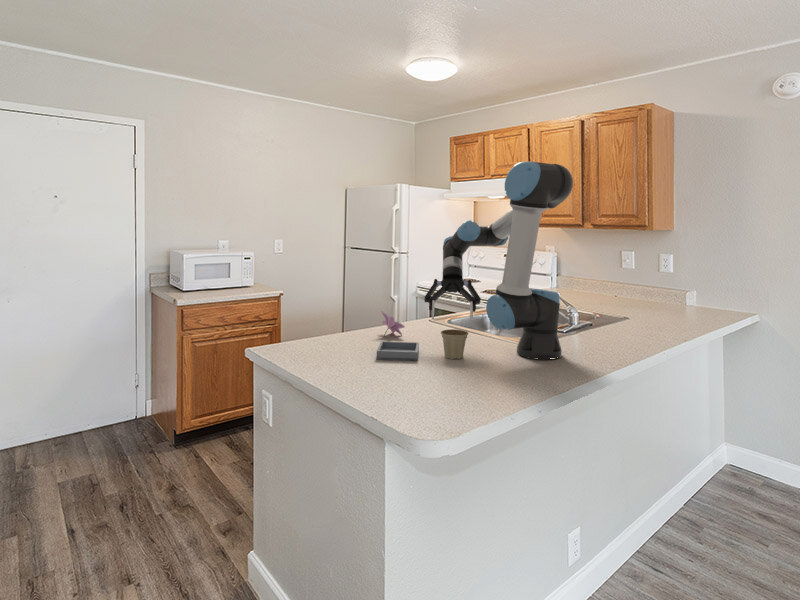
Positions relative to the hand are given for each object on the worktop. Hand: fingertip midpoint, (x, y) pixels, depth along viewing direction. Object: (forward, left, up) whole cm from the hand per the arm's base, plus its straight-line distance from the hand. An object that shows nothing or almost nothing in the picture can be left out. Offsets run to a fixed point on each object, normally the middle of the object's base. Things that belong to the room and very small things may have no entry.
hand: (452, 317), depth 178 cm
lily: (+23, -21, -12) cm, 34 cm away
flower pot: (-1, +8, -12) cm, 15 cm away
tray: (+18, +8, -12) cm, 23 cm away
